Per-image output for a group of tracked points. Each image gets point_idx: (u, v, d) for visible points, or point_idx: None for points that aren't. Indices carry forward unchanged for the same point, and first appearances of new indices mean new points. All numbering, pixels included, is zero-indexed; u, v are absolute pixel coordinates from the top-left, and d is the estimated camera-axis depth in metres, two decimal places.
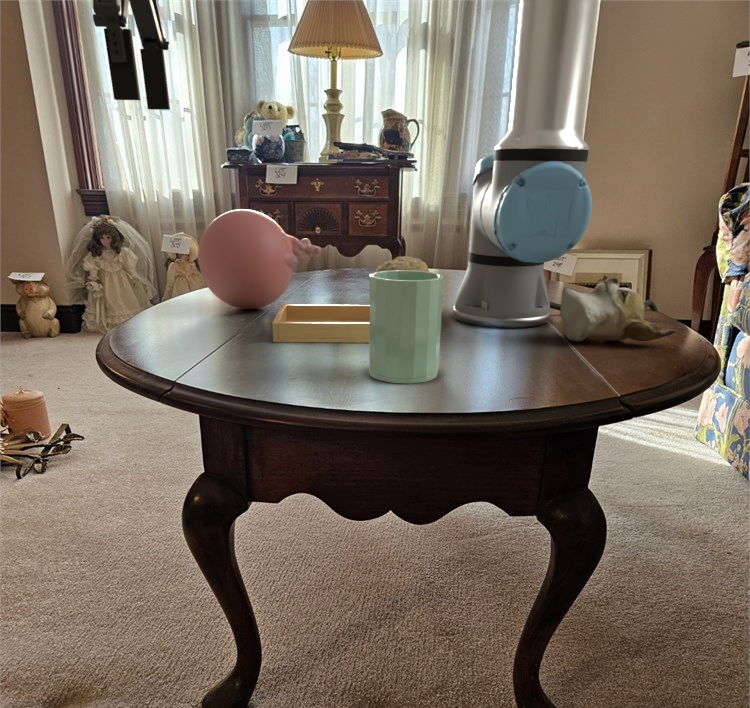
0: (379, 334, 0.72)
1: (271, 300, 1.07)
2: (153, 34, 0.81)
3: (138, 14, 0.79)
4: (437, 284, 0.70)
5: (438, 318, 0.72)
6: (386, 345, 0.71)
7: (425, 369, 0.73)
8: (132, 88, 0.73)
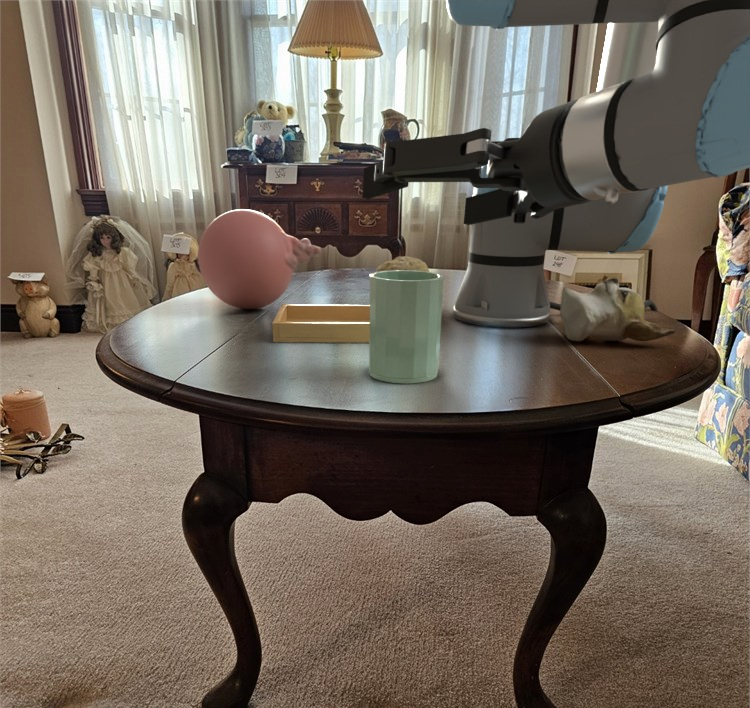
0: (379, 334, 0.72)
1: (271, 300, 1.07)
2: None
3: None
4: (437, 284, 0.70)
5: (438, 318, 0.72)
6: (386, 345, 0.71)
7: (425, 369, 0.73)
8: None
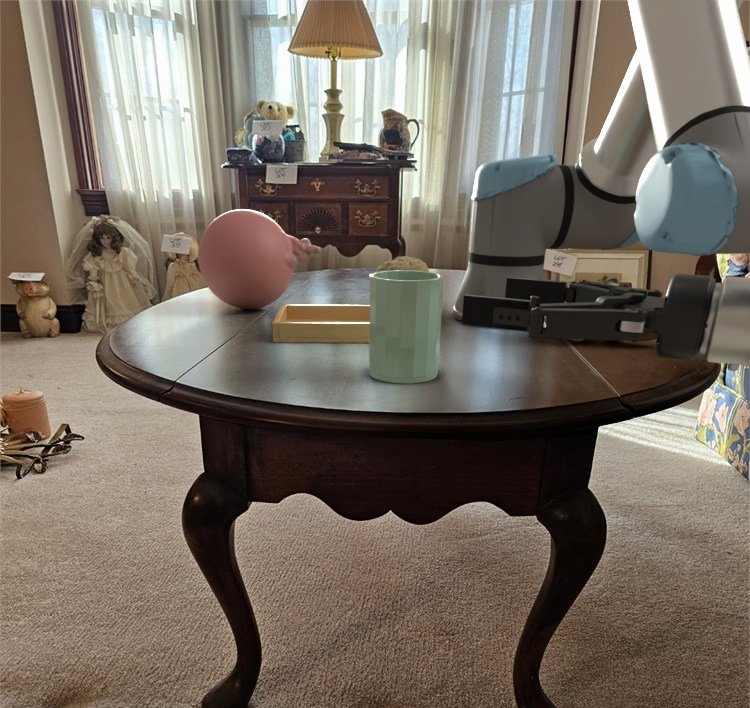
0: (379, 334, 0.72)
1: (271, 300, 1.07)
2: None
3: None
4: (437, 284, 0.70)
5: (438, 318, 0.72)
6: (386, 345, 0.71)
7: (425, 369, 0.73)
8: None
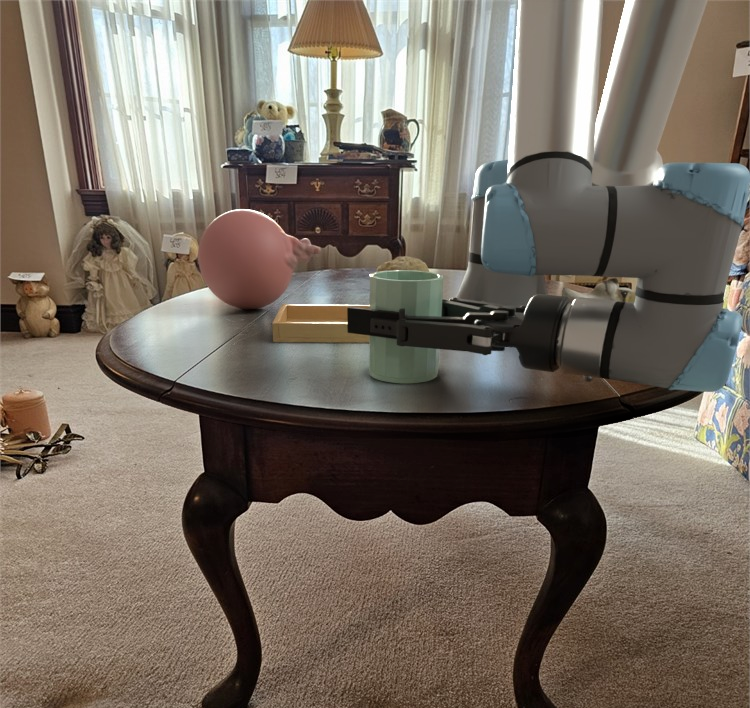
0: None
1: (271, 300, 1.07)
2: None
3: None
4: (437, 284, 0.70)
5: None
6: (386, 345, 0.71)
7: (425, 369, 0.73)
8: None
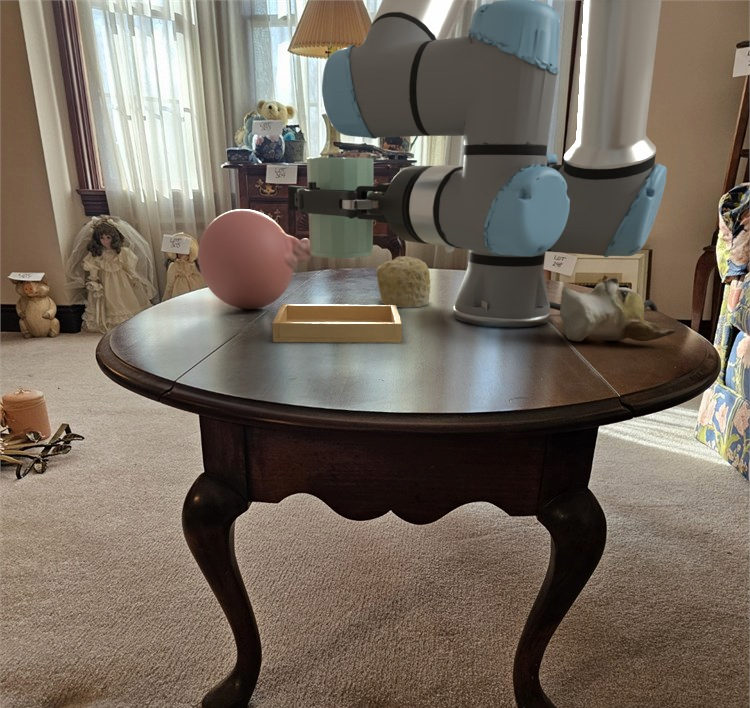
0: None
1: (271, 300, 1.07)
2: None
3: None
4: (354, 163, 0.76)
5: None
6: (312, 220, 0.81)
7: (344, 245, 0.80)
8: None
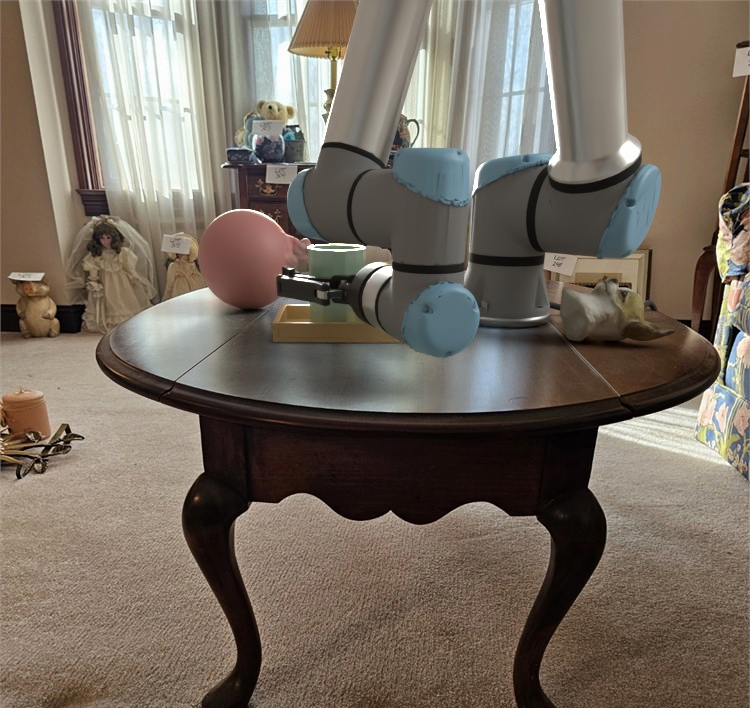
0: None
1: (271, 300, 1.07)
2: None
3: None
4: (342, 255, 0.87)
5: None
6: None
7: None
8: None
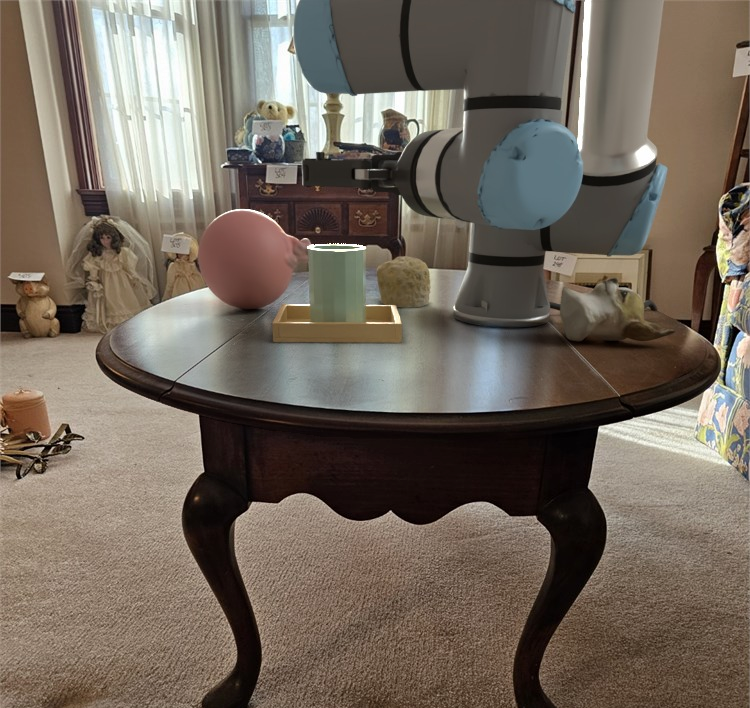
0: None
1: (271, 300, 1.07)
2: None
3: None
4: (342, 255, 0.87)
5: (347, 283, 0.89)
6: (310, 299, 0.92)
7: None
8: None
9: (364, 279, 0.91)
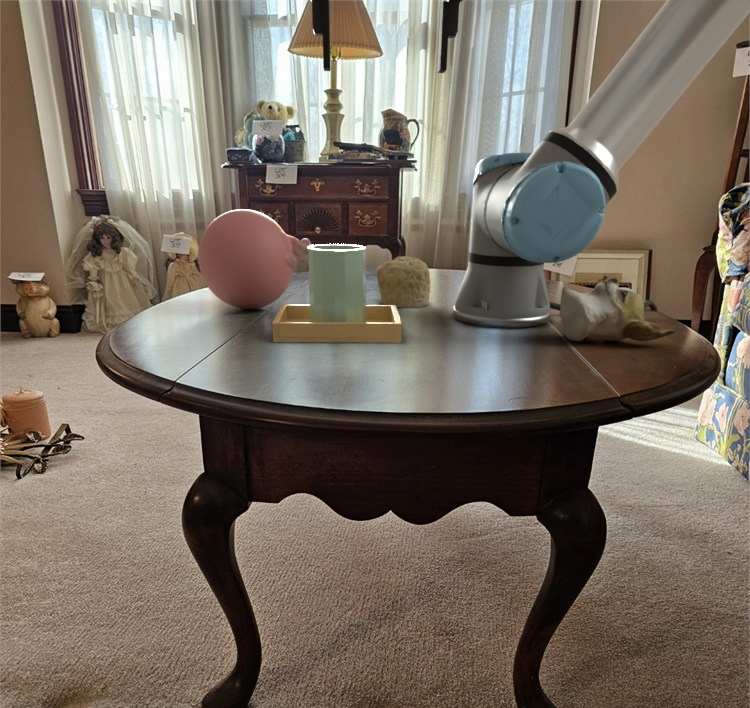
0: None
1: (271, 300, 1.07)
2: None
3: None
4: (342, 255, 0.87)
5: (347, 283, 0.89)
6: (310, 299, 0.92)
7: None
8: None
9: (364, 279, 0.91)
